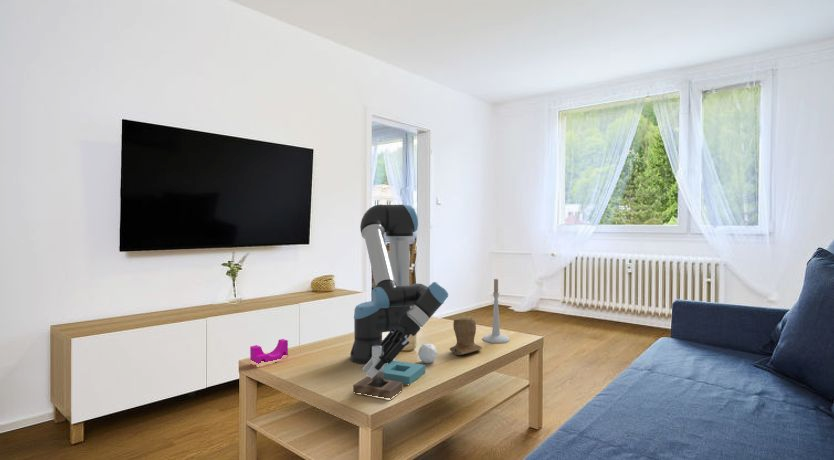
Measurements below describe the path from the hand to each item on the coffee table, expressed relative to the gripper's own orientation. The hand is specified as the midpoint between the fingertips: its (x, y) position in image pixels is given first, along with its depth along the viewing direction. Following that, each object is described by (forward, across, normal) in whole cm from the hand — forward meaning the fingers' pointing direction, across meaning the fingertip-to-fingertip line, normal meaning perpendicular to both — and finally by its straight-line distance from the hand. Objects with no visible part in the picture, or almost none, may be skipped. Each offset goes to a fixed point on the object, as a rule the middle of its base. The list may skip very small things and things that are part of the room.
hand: (367, 373), depth 150 cm
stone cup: (-31, -31, +42) cm, 61 cm away
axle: (+1, 0, +6) cm, 6 cm away
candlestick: (-48, -43, +59) cm, 87 cm away
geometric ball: (-17, -23, +27) cm, 40 cm away
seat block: (-6, -12, +16) cm, 21 cm away
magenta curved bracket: (+26, -48, -14) cm, 56 cm away
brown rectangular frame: (+2, 0, +7) cm, 8 cm away
